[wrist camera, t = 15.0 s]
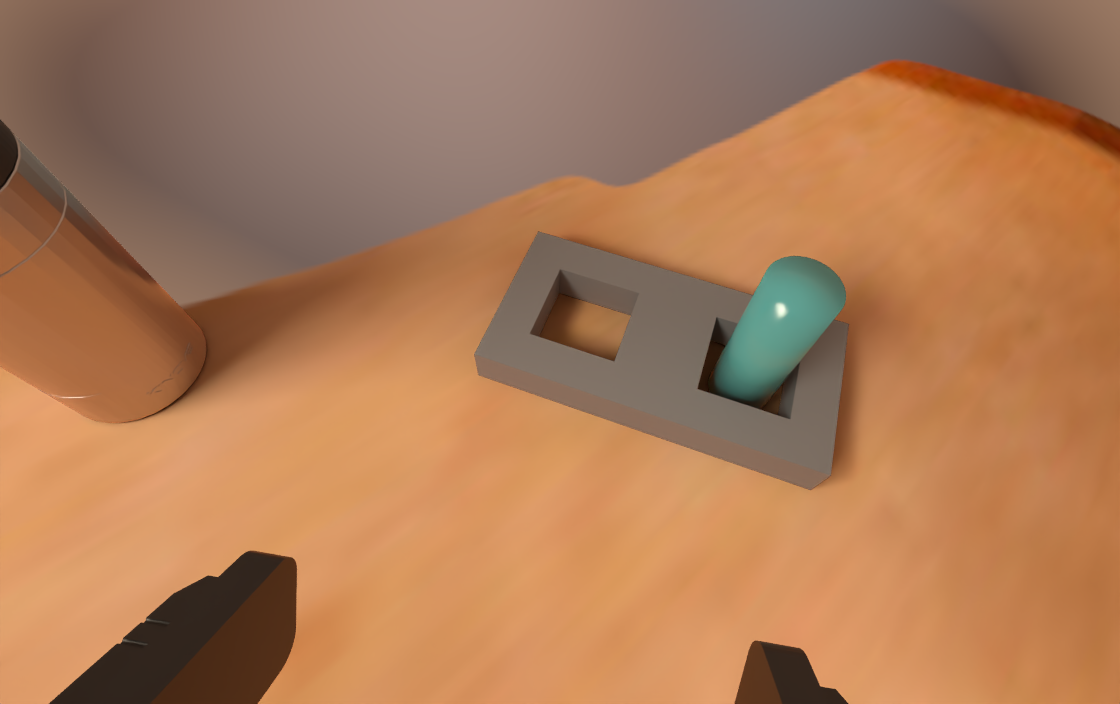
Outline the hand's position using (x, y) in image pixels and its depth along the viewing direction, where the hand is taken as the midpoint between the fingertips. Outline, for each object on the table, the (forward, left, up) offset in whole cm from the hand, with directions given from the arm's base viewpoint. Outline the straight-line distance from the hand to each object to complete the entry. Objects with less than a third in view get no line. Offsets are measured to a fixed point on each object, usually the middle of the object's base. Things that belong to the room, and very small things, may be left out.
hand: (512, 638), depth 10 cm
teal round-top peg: (+7, +22, -25) cm, 34 cm away
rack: (+1, +22, -25) cm, 33 cm away
